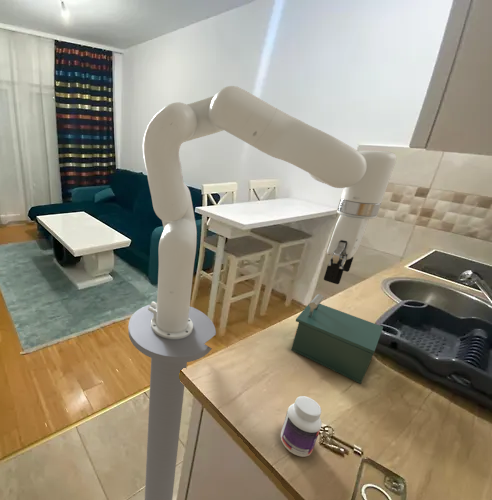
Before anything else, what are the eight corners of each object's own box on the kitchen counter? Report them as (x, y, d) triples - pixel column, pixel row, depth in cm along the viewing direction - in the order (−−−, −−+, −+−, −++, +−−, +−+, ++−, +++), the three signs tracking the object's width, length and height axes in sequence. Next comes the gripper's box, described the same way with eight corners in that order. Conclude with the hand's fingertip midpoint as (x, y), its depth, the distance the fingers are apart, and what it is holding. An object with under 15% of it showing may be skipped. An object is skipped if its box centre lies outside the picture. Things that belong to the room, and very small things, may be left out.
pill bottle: (316, 461, 51) (331, 423, 47) (283, 453, 52) (295, 415, 48) (307, 432, 56) (320, 395, 52) (277, 426, 57) (288, 389, 53)
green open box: (291, 349, 77) (298, 322, 74) (306, 329, 85) (314, 304, 82) (360, 384, 67) (373, 354, 64) (370, 357, 75) (382, 329, 72)
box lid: (295, 321, 74) (300, 303, 72) (310, 302, 83) (315, 287, 81) (373, 354, 64) (381, 335, 62) (382, 329, 72) (389, 311, 70)
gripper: (347, 200, 73) (329, 261, 80) (328, 211, 62) (308, 281, 68) (384, 205, 68) (361, 270, 75) (371, 218, 57) (345, 293, 64)
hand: (336, 275), depth 72 cm, fingers open, 9 cm apart
